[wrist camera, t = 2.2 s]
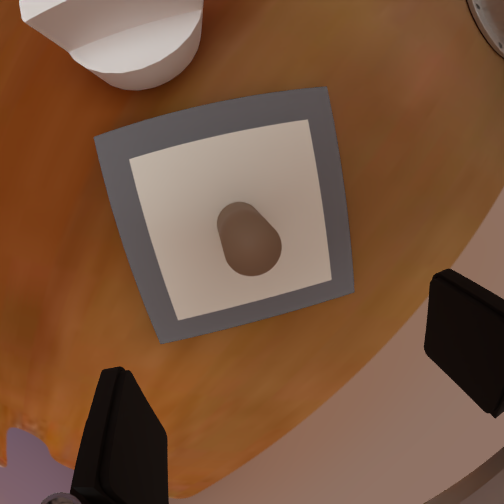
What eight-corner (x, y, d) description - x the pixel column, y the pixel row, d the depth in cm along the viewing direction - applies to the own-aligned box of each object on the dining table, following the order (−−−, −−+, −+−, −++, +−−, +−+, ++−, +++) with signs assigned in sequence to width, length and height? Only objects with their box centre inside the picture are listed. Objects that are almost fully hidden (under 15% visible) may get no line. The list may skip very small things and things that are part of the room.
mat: (321, 88, 23) (326, 86, 22) (349, 287, 29) (354, 292, 28) (97, 137, 21) (93, 137, 20) (161, 337, 27) (160, 344, 26)
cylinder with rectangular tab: (99, 106, 20) (23, 78, 9) (83, 14, 17) (23, -53, 6) (211, 72, 21) (227, 8, 10) (189, -18, 18) (191, -110, 7)
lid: (303, 120, 22) (343, 112, 16) (327, 275, 27) (364, 314, 20) (131, 158, 21) (105, 163, 14) (178, 314, 26) (175, 367, 19)
